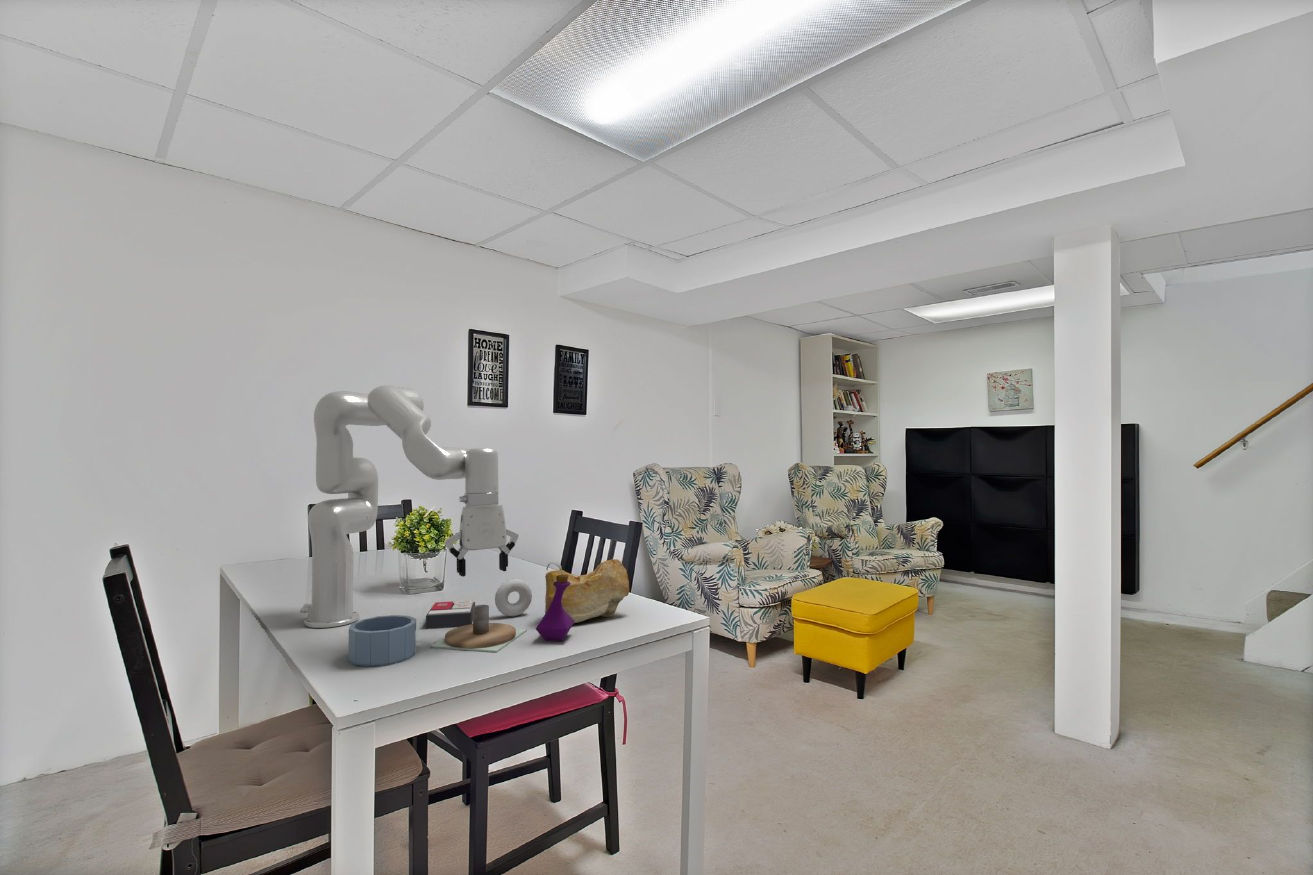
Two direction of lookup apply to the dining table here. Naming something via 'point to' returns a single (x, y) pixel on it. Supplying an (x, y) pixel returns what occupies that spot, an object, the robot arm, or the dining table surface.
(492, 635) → the lid
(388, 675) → the dining table surface
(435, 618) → the flat rectangular box
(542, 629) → the perfume bottle
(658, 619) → the dining table surface
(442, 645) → the mat
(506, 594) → the donut
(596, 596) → the rough brown rock
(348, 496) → the robot arm
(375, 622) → the bowl
